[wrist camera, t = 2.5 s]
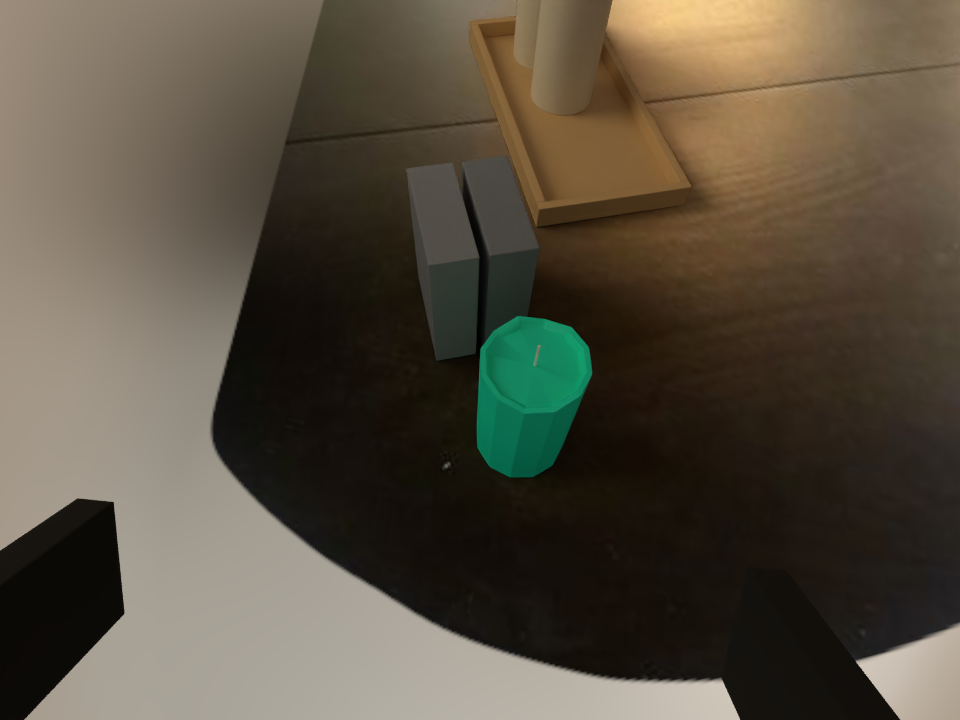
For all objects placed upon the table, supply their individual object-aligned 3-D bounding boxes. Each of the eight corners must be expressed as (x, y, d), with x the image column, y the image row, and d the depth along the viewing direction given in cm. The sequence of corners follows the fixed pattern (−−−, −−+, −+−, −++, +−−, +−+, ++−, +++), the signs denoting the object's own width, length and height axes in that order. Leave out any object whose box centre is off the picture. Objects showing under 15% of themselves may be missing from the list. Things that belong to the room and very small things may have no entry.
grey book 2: (462, 269, 46) (461, 160, 36) (498, 263, 46) (507, 154, 37) (483, 352, 42) (489, 255, 32) (522, 345, 42) (540, 247, 33)
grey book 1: (418, 276, 45) (406, 168, 36) (455, 270, 46) (452, 162, 36) (436, 361, 42) (428, 265, 32) (476, 354, 42) (479, 257, 32)
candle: (580, 435, 39) (622, 345, 29) (522, 497, 37) (546, 424, 26) (515, 381, 41) (533, 278, 30) (457, 436, 39) (454, 346, 28)
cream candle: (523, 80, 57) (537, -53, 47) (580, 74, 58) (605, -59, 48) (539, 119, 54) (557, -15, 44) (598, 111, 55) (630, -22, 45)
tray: (469, 40, 62) (469, 20, 60) (587, 27, 63) (591, 8, 61) (536, 227, 48) (538, 209, 46) (683, 204, 50) (692, 187, 48)
